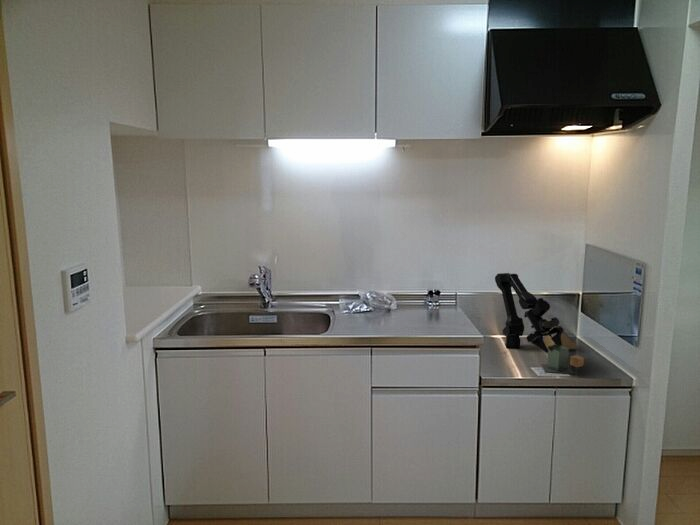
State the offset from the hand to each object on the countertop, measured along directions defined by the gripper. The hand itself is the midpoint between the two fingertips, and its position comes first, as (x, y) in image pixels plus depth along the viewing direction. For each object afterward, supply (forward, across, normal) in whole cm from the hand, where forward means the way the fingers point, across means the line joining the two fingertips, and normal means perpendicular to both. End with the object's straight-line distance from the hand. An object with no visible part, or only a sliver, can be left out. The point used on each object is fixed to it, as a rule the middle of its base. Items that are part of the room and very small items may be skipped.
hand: (554, 350), depth 222 cm
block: (+8, +12, +4) cm, 15 cm away
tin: (+7, 0, +4) cm, 8 cm away
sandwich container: (-6, +27, +19) cm, 33 cm away
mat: (+7, 0, +4) cm, 8 cm away
